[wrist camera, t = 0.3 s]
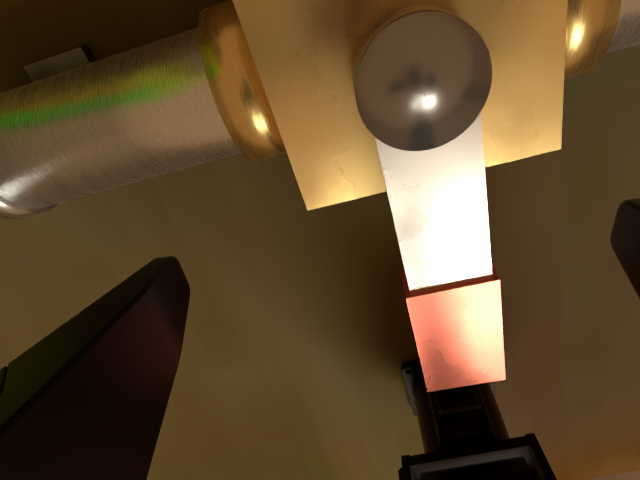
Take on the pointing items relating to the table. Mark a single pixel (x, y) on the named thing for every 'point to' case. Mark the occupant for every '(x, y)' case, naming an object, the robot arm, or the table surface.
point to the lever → (436, 184)
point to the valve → (279, 96)
